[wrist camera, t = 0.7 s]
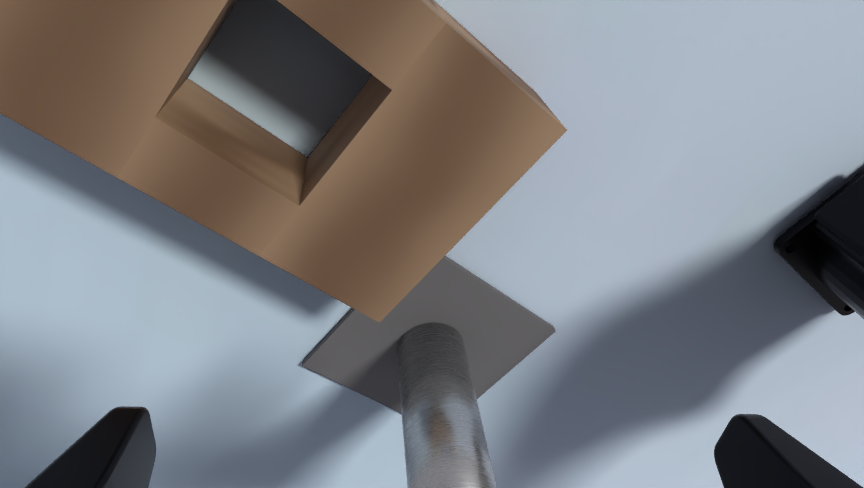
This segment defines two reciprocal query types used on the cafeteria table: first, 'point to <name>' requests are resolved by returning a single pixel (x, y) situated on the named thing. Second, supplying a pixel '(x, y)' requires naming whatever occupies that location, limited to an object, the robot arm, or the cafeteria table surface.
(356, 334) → the mat
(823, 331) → the cafeteria table surface
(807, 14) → the cafeteria table surface
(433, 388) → the pin
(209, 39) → the socket block
